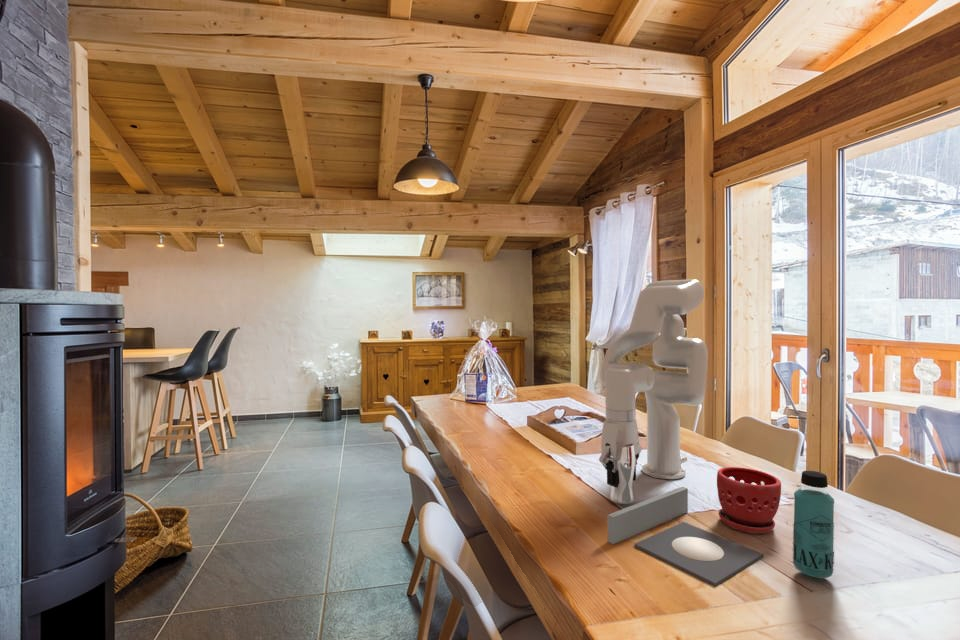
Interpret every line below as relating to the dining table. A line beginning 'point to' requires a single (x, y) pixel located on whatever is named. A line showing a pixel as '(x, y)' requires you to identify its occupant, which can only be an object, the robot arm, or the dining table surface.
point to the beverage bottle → (813, 527)
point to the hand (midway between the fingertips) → (621, 481)
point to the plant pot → (748, 499)
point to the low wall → (647, 514)
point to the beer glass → (624, 477)
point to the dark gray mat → (699, 552)
